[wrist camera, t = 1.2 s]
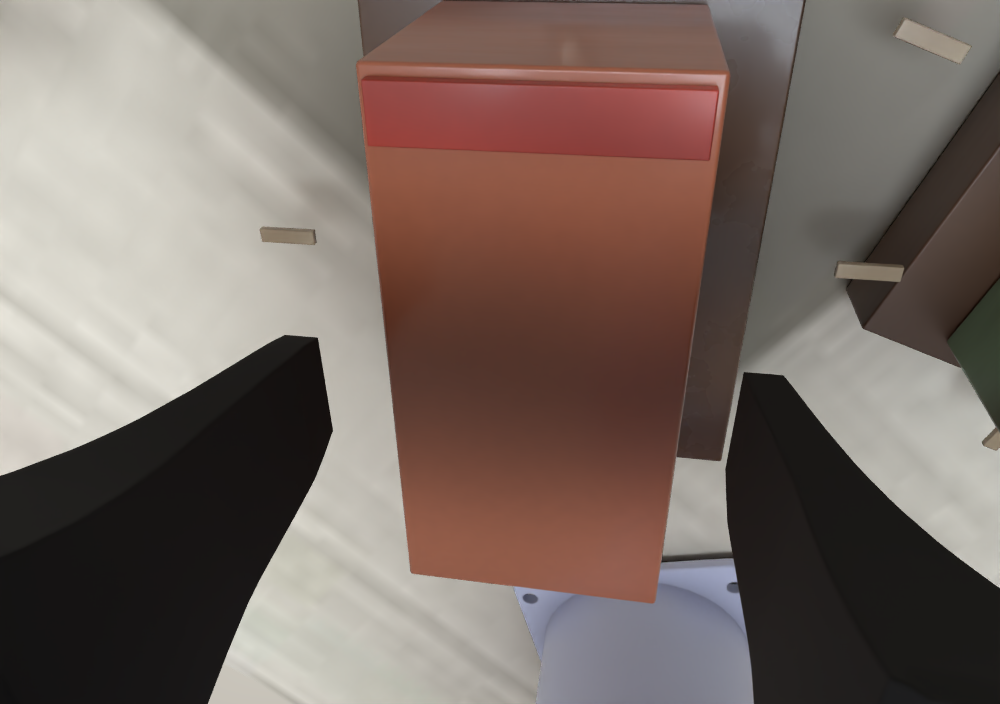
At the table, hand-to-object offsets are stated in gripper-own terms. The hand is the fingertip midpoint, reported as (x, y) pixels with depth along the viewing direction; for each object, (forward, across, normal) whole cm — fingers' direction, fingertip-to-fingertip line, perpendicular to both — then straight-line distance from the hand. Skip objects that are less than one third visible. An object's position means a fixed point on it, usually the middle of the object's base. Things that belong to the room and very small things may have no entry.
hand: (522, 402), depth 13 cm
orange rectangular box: (+6, 0, 0) cm, 6 cm away
